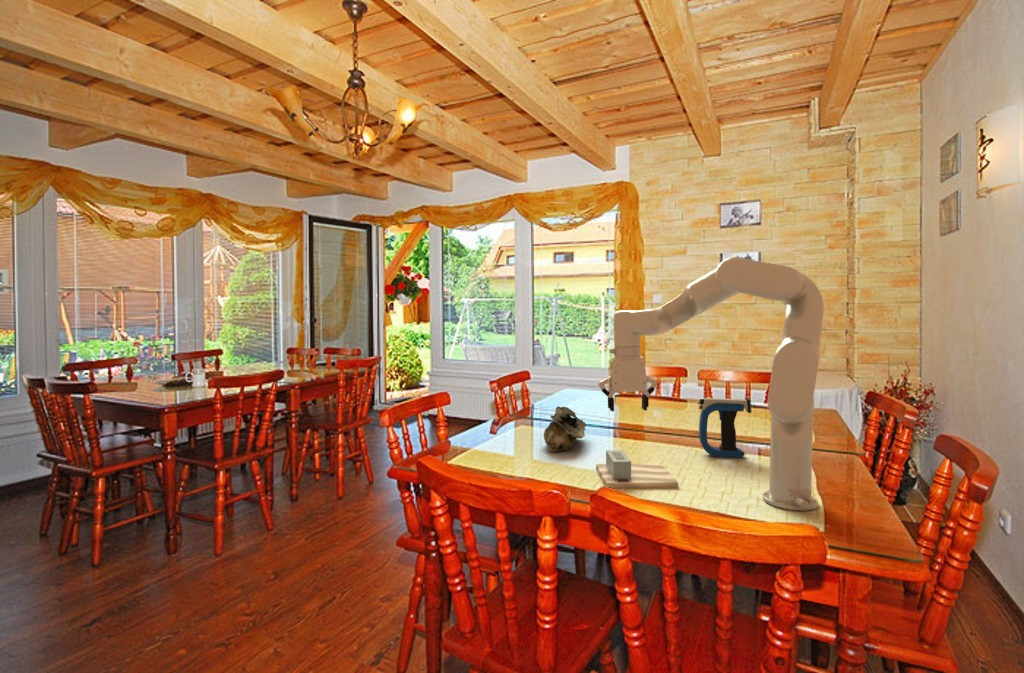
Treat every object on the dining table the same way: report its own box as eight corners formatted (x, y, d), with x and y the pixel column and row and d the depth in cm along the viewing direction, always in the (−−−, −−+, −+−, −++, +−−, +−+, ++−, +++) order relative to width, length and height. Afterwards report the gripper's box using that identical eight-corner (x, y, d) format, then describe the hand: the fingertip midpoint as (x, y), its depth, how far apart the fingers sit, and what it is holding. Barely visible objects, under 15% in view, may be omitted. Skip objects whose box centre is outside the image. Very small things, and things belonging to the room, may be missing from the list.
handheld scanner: (751, 459, 179) (752, 399, 178) (700, 456, 182) (700, 398, 181) (748, 455, 183) (749, 397, 182) (698, 453, 186) (698, 396, 186)
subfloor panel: (678, 487, 152) (678, 481, 152) (606, 488, 152) (606, 482, 152) (660, 468, 170) (660, 463, 170) (596, 468, 170) (596, 463, 170)
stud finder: (631, 478, 155) (631, 461, 154) (613, 479, 155) (613, 461, 154) (622, 466, 167) (622, 449, 166) (606, 466, 167) (606, 449, 166)
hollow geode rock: (571, 447, 214) (545, 418, 217) (594, 426, 210) (568, 397, 213) (553, 465, 187) (524, 432, 190) (579, 441, 184) (549, 408, 187)
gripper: (600, 354, 156) (601, 413, 157) (660, 352, 156) (661, 411, 157) (595, 352, 164) (596, 408, 164) (653, 350, 164) (653, 407, 165)
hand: (628, 410), depth 161 cm, fingers open, 9 cm apart
